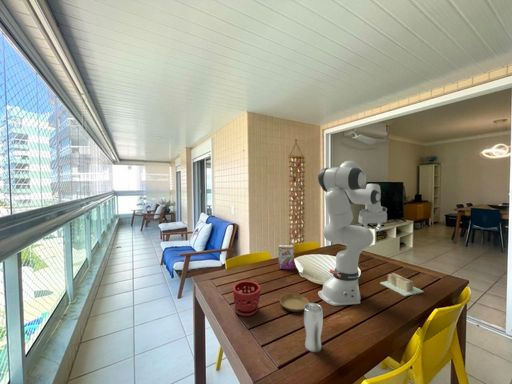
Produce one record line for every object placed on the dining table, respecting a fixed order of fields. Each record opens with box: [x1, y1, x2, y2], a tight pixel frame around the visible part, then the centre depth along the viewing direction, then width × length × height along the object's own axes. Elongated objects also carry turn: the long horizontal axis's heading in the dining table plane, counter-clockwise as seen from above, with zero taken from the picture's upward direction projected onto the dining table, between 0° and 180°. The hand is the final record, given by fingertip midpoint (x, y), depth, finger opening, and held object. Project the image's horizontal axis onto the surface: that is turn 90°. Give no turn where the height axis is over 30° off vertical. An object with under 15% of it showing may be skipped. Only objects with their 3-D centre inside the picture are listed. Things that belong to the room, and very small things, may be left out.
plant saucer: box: [279, 293, 310, 313], centre depth 110 cm, size 15×15×3 cm
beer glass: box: [303, 302, 324, 353], centre depth 82 cm, size 7×7×15 cm
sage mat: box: [379, 280, 424, 297], centre depth 127 cm, size 14×16×1 cm
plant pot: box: [232, 280, 261, 317], centre depth 105 cm, size 13×13×12 cm
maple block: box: [387, 272, 414, 292], centre depth 127 cm, size 5×5×12 cm
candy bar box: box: [278, 244, 295, 270], centre depth 157 cm, size 11×5×16 cm, turn 84°
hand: (372, 229), depth 141 cm, fingers open, 8 cm apart
